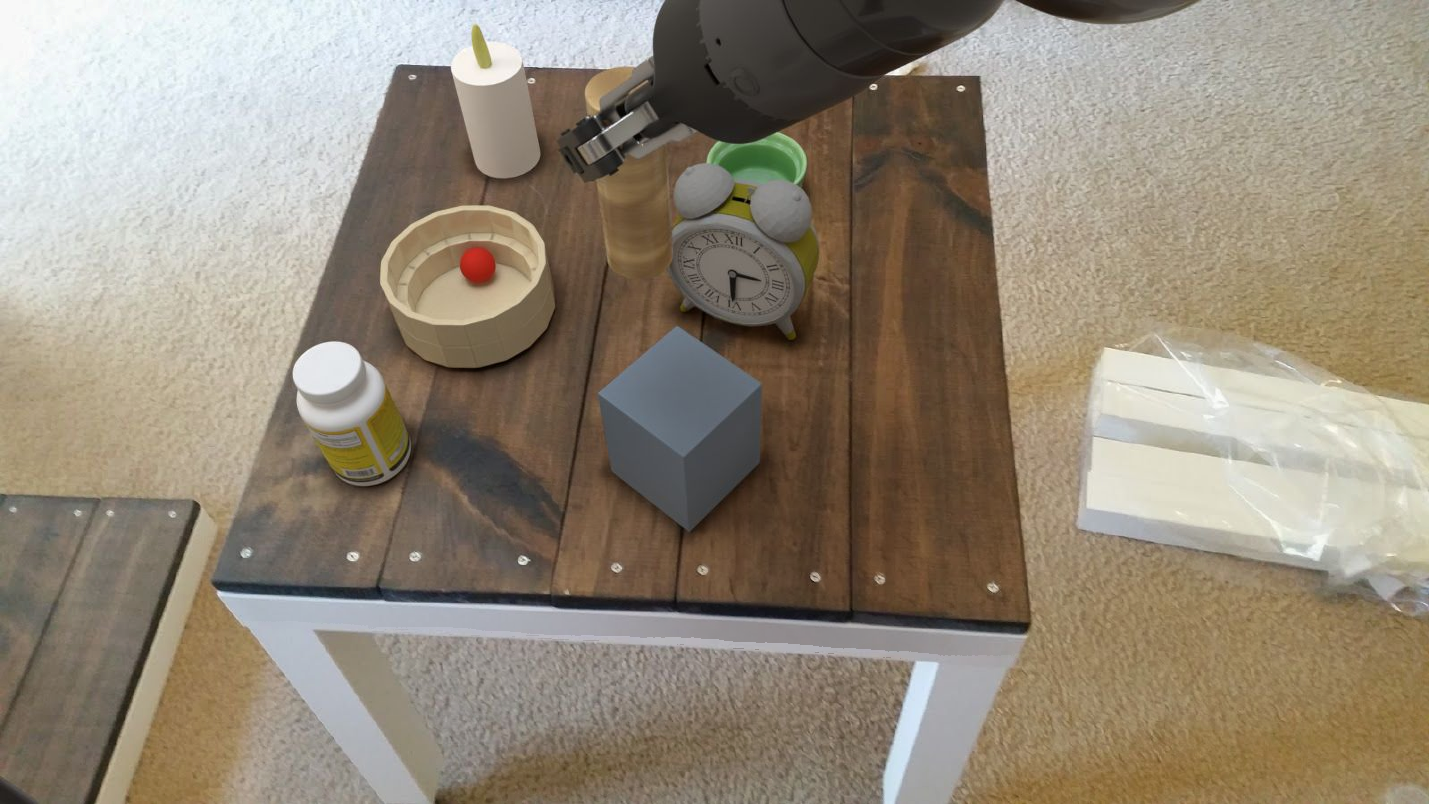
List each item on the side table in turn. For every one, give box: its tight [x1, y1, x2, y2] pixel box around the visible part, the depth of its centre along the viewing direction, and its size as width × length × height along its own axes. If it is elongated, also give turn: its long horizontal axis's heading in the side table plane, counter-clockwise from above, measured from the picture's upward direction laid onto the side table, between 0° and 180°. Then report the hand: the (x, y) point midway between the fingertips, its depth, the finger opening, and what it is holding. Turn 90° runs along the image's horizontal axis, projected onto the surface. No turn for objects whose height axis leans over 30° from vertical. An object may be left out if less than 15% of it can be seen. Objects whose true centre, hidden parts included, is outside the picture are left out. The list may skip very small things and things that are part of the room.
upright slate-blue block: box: [597, 325, 763, 533], centre depth 76 cm, size 8×8×10 cm
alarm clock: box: [666, 162, 821, 341], centre depth 83 cm, size 12×7×15 cm, turn 70°
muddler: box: [584, 66, 673, 281], centre depth 58 cm, size 4×4×12 cm
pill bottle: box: [292, 341, 412, 487], centre depth 76 cm, size 6×6×11 cm
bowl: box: [379, 204, 556, 369], centre depth 87 cm, size 13×13×6 cm
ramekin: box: [706, 131, 808, 189], centre depth 95 cm, size 9×9×4 cm
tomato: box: [460, 247, 496, 283], centre depth 90 cm, size 3×3×3 cm
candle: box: [450, 23, 541, 179], centre depth 95 cm, size 6×6×15 cm
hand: (604, 135), depth 57 cm, fingers closed on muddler, 4 cm apart
